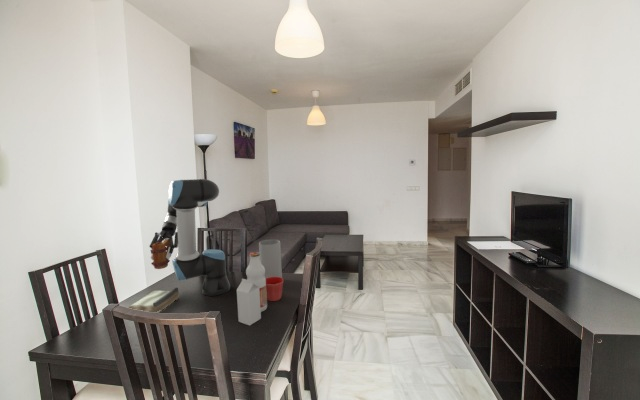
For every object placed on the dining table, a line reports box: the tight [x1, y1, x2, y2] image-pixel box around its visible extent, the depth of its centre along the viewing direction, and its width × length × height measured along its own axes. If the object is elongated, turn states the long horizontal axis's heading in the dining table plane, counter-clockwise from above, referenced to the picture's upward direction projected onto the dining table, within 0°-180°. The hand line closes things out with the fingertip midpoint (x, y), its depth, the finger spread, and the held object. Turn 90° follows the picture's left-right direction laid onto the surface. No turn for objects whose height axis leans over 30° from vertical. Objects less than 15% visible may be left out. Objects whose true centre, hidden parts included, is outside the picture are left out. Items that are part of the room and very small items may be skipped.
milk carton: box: [236, 278, 262, 326], centre depth 131 cm, size 7×7×19 cm
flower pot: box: [266, 277, 284, 302], centre depth 154 cm, size 11×11×10 cm
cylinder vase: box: [258, 239, 283, 279], centre depth 173 cm, size 12×12×25 cm
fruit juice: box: [245, 251, 268, 313], centre depth 141 cm, size 9×9×28 cm
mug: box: [150, 239, 173, 270], centre depth 167 cm, size 15×8×15 cm, turn 169°
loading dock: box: [128, 287, 180, 312], centre depth 149 cm, size 14×18×6 cm
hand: (159, 258), depth 164 cm, fingers closed on mug, 8 cm apart
